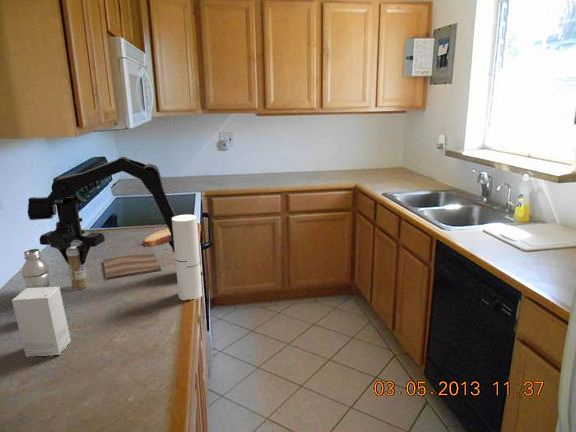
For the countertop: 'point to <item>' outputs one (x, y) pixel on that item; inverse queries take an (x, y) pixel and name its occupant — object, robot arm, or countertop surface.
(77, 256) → the sprinkles bottle
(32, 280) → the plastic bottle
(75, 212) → the robot arm
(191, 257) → the cylindrical container
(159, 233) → the slice of bread
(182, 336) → the countertop surface
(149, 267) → the walnut board
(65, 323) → the skincare box
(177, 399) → the countertop surface
